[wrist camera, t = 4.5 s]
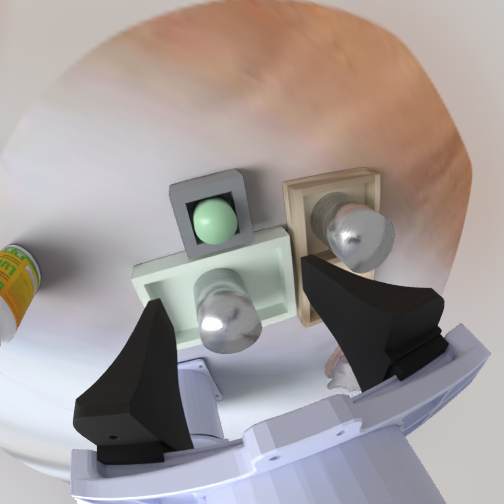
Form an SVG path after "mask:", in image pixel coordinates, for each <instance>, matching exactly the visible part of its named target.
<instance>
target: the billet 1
mask: <svg viewBox="0 0 504 504" xmlns="http://www.w3.org/2000/svg"><path fill="white" fill-rule="evenodd" d="M193 294H194V301H195V308H196V314H197V321H198V327H199V333H200V339H201V342H202V344H203V345H204V346H205V347H206V348H207V349H209V350H210V351H212V352H215V353H220V354H232V353H237V352H240V351H242V350H245V349H247V348H248V347H250V346H251V345H253V344H254V343H255V342H256V341H257V339H258V338H259V336H260V334H261V331H262V324H261V321H260V319H259V316H258V314H257V312H256V309H255V307H254V305H253V302H252V300H251V298H250V295H249V293H248V291H247V288H246V286H245V283H244V281H243V279H242V277H241V276H240V275H239V274H238V273H237V272H235V271H234V270H231V269H228V268H215V269H211V270H209V271H207V272H205V273H203V274H202V275H201V276H200V277H199V278H198V279H197V281H196V282H195V285H194V288H193Z"/></svg>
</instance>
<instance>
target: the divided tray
mask: <svg viewBox="0 0 504 504" xmlns="http://www.w3.org/2000/svg"><path fill="white" fill-rule="evenodd" d="M282 185H283V193H284V201H285V209H286V218H287V227H288V234H289V236H290V246H291V256H292V266H293V277H294V288H295V301H296V313H297V316H298V318H299V319H300V321H301V323H302V324H303V326H304V328H307V327H310V326H313V325H316V324H318V323H321V322H323V321H322V319H321V318H320V316H319V315H318V314H317V312H316V311H315V310H314V308H313V307H312V305H311V304H310V302H309V300H308V298H307V296H306V295H305V293H304V291H303V286H302V272H301V259H300V257H303V256H307V255H310V254H312V255H315V256H317V257H319V258H321V259H323V260H325V261H327V262H329V263H331V264H333V265H336V266H338V267H340V268H342V269H344V270H347V271H349V272H352V273H354V274H357V275H359V276H362V277H365V278H368V279H372V280H374V273H375V269H374V270H372V271H370V272H367V273H355V272H353V271H351V270H350V269H349V268H348V267H347V266H346V265H345V264H344V263H343V262H342V261H341V260H340V259H339V258H338V257H337V256H336V255H335V254H334V253H333V252H332V251H331V250H330V249H329V248H328V247H326V246H325V245H324V244H323V243H322V242H321V241H320V240H319V239H318V238H317V237H316V236H315V235H314V233H313V232H312V230H311V225H310V218H311V213H312V210H313V208H314V206H315V205H316V203H317V202H318V201H319V200H320V199H321V198H322V197H323V196H325V195H327V194H329V193H332V192H342V193H345V194H347V195H349V196H350V197H352V198H354V199H356V200H357V201H359V202H361V203H363V204H364V205H366V206H368V207H370V208H371V209H373V210H375V211H376V212H378V213H380V173H377V172H375V171H372V170H370V169H367V168H364V167H360V168H354V169H348V170H342V171H337V172H331V173H326V174H320V175H315V176H310V177H305V178H300V179H295V180H290V181H285V182H282Z"/></svg>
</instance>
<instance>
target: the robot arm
mask: <svg viewBox="0 0 504 504" xmlns="http://www.w3.org/2000/svg"><path fill="white" fill-rule="evenodd" d="M300 259H301V272H302V286H303V291H304V293H305V295H306V296H307V298H308V300H309V302H310V304H311V305H312V307H313V308H314V310H315V311H316V312H317V314H318V315H319V316H320V318H321V319H322V321H323V322H324V323H325V325H326V326H327V327H328V329H329V330H330V331H331V333H332V334H333V336H334V337H335V339H336V341H337V342H338V344H339V346H340V348H341V350H342V351H343V353H344V355H345V357H346V359H347V361H348V363H349V365H350V367H351V369H352V371H353V373H354V375H355V378H356V380H357V382H358V384H359V387H360V389H361V391H362V393H361V394H359V395H357V396H355V397H353V398H351V399H350V397H349V395H340V394H337V395H334V396H331V397H328V398H325V399H322V400H320V401H318V402H315V403H313V404H310V405H308V406H305V407H302V408H300V409H297V410H294V411H291V412H289V413H286V414H283V415H280V416H277V417H274V418H271V419H267V420H265V421H262V422H260V423H257V424H255V425H253V426H251V427H250V428H249V429H247V430H246V431H245V432H244V434H243V438H241V439H237V440H233V441H229V440H228V439H224V434H223V430H222V426H221V422H220V418H219V413H218V409H217V405H216V401H220V400H222V399H223V398H222V395H221V393H220V392H219V390H218V388H217V386H216V384H215V382H214V380H213V378H212V376H211V374H210V372H209V370H208V368H207V366H206V364H205V362H204V361H203V360H202V359H196V360H192V361H188V362H184V363H180V364H178V362H177V343H176V337H175V331H174V326H173V324H172V322H171V320H170V318H169V316H168V314H167V312H166V310H165V308H164V306H163V303H162V301H161V299H160V298H157V299H154V300H150V301H148V303H147V305H146V307H145V309H144V311H143V313H142V315H141V317H140V319H139V321H138V323H137V325H136V327H135V329H134V331H133V333H132V334H131V336H130V338H129V339H128V341H127V343H126V345H125V346H124V348H123V349H122V351H121V352H120V354H119V355H118V357H117V358H116V359H115V361H114V362H113V363H112V364H111V366H110V367H109V368H108V369H107V370H106V372H105V373H104V374H103V375H102V376H101V377H100V378H99V379H98V380H97V381H96V382H95V383H94V384H93V385H92V386H91V387H90V388H89V389H88V390H86V391H85V392H84V393H83V394H82V395H81V396H79V397H78V398H77V399H76V402H75V409H74V417H73V426H74V428H75V429H76V431H77V432H79V433H80V434H81V435H82V436H84V437H85V438H86V439H88V440H89V441H91V442H92V443H94V444H95V445H97V452H96V451H93V450H78V449H73V450H71V496H72V497H74V498H77V499H79V500H82V501H85V502H88V503H91V504H446V502H445V501H444V499H443V497H442V496H441V494H440V492H439V490H438V489H437V487H436V486H435V484H434V483H433V481H432V479H431V478H430V476H429V475H428V473H427V471H426V470H425V468H424V466H423V465H422V463H421V461H420V460H419V458H418V457H417V455H416V453H415V452H414V450H413V449H412V447H411V446H410V444H409V443H408V441H407V439H406V438H405V437H406V436H407V435H408V434H410V433H411V432H413V431H414V430H415V429H417V428H418V427H419V426H421V425H422V424H423V423H425V422H426V421H427V420H428V419H429V418H431V417H432V416H433V415H434V414H436V413H437V412H438V411H439V410H441V409H442V408H443V407H444V406H445V405H446V404H448V403H449V402H450V401H451V400H452V399H453V398H455V397H456V396H457V395H458V394H459V393H460V392H461V391H463V390H464V389H465V388H466V387H467V386H468V385H469V384H470V383H471V382H472V381H473V379H474V378H475V377H476V375H477V374H478V372H479V371H480V370H481V368H482V367H483V365H484V364H485V362H486V361H487V359H488V358H489V356H490V355H491V353H490V352H489V350H487V348H486V347H485V346H484V345H483V344H482V343H481V342H480V341H479V340H478V339H477V338H476V337H475V336H474V335H473V334H472V333H471V332H470V331H469V330H468V329H467V328H466V327H465V326H464V325H463V324H462V323H461V324H459V325H458V326H456V327H455V328H454V329H453V330H451V331H450V332H449V333H447V334H446V336H445V337H442V335H441V334H440V333H441V332H442V330H441V329H440V328H439V327H438V323H439V321H440V318H441V316H442V313H443V310H444V299H443V298H442V297H441V296H440V295H439V294H438V293H437V292H435V291H434V290H433V289H432V288H415V287H405V286H398V285H392V284H387V283H383V282H379V281H375V280H372V279H368V278H365V277H362V276H359V275H357V274H354V273H352V272H349V271H347V270H344V269H342V268H340V267H338V266H336V265H333V264H331V263H329V262H327V261H325V260H323V259H321V258H319V257H317V256H315V255H312V254H310V255H307V256H303V257H300Z"/></svg>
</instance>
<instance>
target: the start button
mask: <svg viewBox="0 0 504 504" xmlns="http://www.w3.org/2000/svg"><path fill="white" fill-rule="evenodd" d="M193 221H194V227H195V231H196V234H197V236H198V237H199V238H200V239H201V240H202V241H204V242H205V243H208V244H214V245H216V244H221V243H224V242H226V241H228V240H229V239H230V238H231V237H232V236H233V235H234V233H235V232H236V229H237V217H236V215H235V213H234V211H233V210H232V208H231V206H230V205H229V203H228V202H227V201H226V200H225V199H224V198H222V197H219V196H211V197H207V198H203V199H201V200H200V201H199V202H198V203H197V204H196V205H195V207H194V210H193Z"/></svg>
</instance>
